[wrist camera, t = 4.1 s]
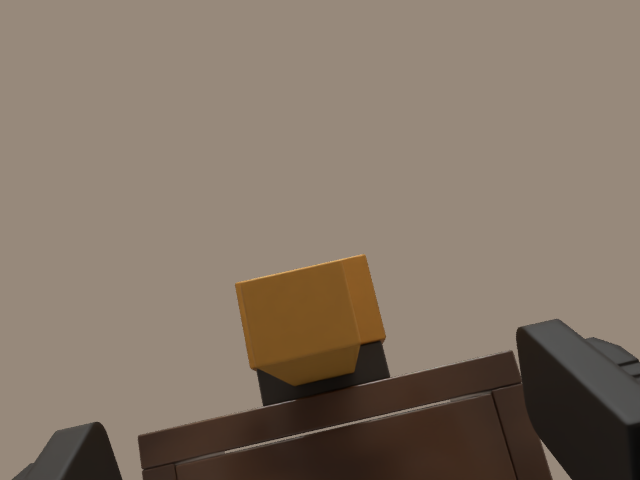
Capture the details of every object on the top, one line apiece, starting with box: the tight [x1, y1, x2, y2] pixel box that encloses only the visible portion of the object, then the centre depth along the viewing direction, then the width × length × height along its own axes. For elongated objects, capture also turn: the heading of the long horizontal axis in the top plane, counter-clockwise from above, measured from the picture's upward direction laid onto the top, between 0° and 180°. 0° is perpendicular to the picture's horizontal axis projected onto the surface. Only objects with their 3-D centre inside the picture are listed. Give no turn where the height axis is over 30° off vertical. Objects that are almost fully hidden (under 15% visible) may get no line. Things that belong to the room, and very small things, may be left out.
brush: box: [235, 254, 390, 406], centre depth 22 cm, size 5×18×5 cm, turn 177°
